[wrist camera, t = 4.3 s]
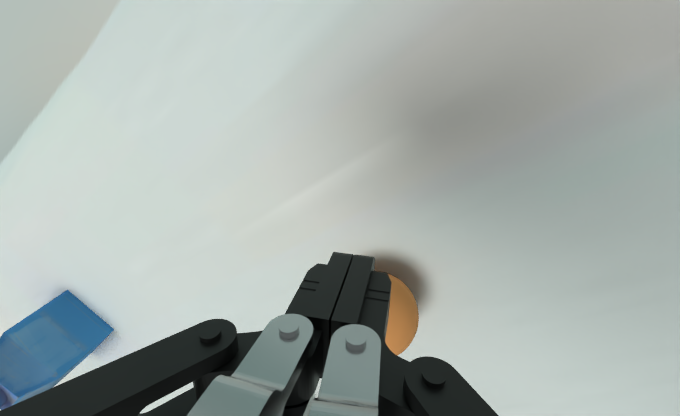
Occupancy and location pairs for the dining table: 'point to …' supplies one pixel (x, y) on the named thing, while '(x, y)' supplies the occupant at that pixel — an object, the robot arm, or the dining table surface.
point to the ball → (401, 317)
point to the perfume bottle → (47, 347)
